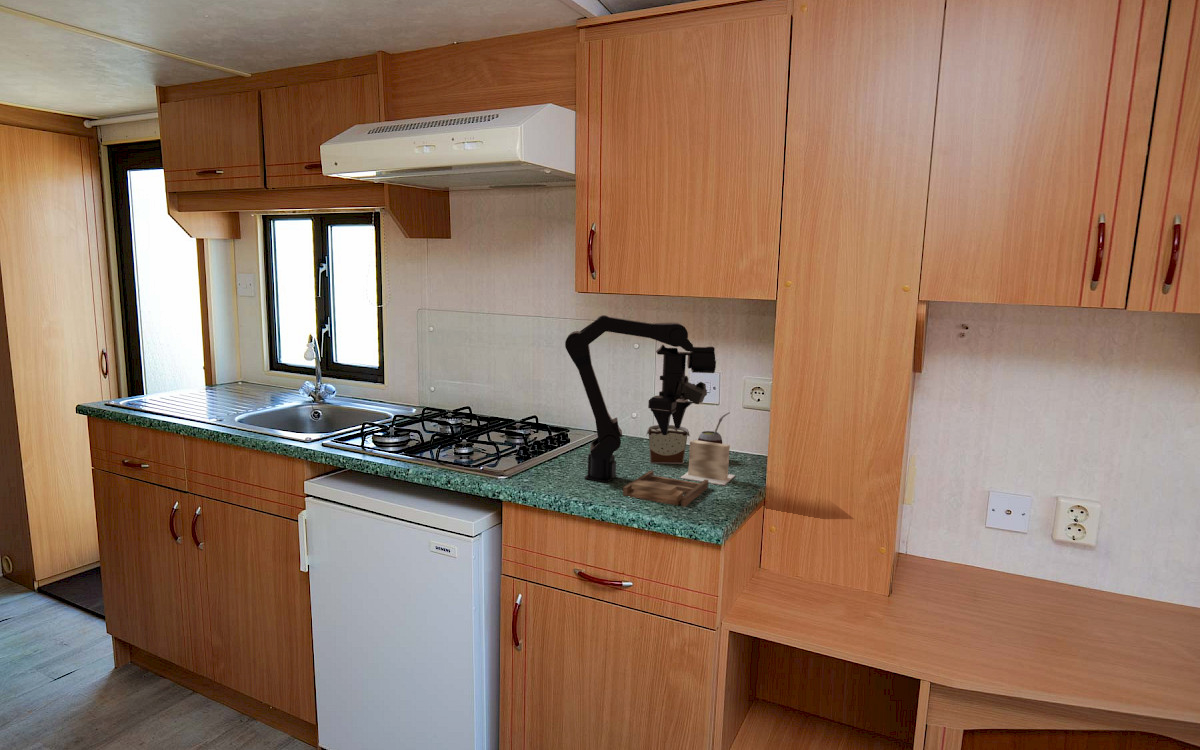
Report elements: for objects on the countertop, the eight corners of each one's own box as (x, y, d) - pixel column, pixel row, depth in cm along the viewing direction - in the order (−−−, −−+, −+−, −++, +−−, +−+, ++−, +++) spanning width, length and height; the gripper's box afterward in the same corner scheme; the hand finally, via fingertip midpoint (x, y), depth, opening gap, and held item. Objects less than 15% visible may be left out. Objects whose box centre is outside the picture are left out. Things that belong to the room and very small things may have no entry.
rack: (622, 495, 172) (623, 487, 172) (649, 478, 187) (650, 470, 187) (685, 506, 165) (685, 498, 165) (708, 487, 180) (708, 480, 180)
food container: (685, 458, 209) (686, 424, 207) (688, 463, 203) (690, 429, 201) (643, 457, 208) (644, 424, 207) (645, 463, 202) (646, 428, 201)
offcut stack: (626, 498, 172) (627, 483, 171) (634, 492, 176) (635, 478, 176) (677, 507, 166) (678, 492, 166) (684, 501, 171) (685, 486, 170)
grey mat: (680, 478, 188) (680, 477, 188) (692, 469, 197) (692, 468, 197) (724, 485, 183) (724, 484, 183) (734, 476, 191) (735, 475, 191)
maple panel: (688, 474, 190) (689, 442, 189) (691, 472, 193) (693, 439, 192) (724, 480, 186) (726, 447, 185) (727, 477, 189) (729, 444, 187)
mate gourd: (694, 456, 211) (696, 407, 209) (720, 456, 212) (723, 407, 210) (700, 463, 204) (703, 412, 202) (727, 463, 205) (730, 412, 202)
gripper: (691, 379, 170) (688, 442, 172) (715, 370, 187) (712, 428, 189) (648, 375, 175) (646, 437, 177) (675, 367, 192) (672, 423, 194)
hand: (671, 431), depth 184 cm, fingers open, 9 cm apart
